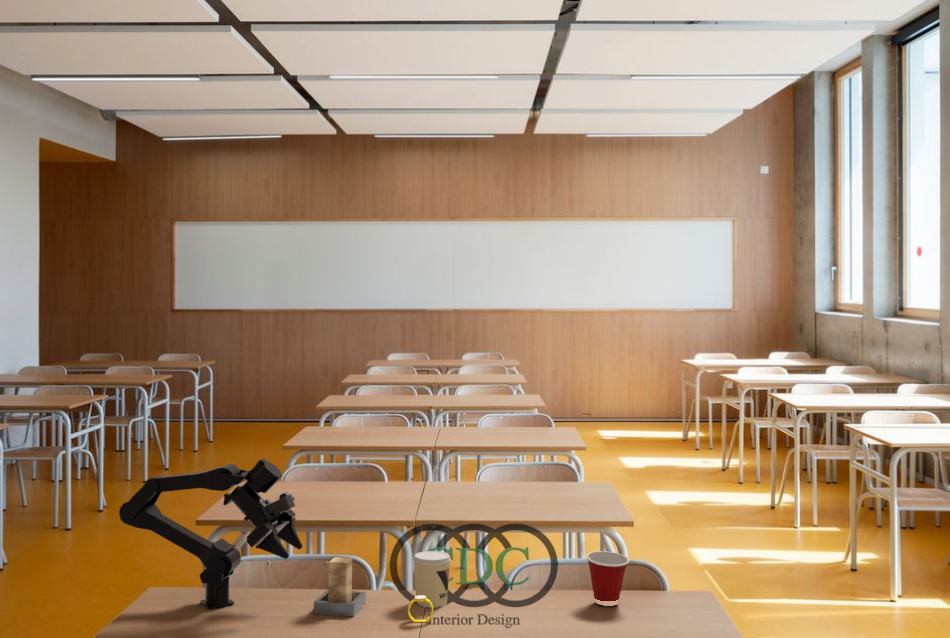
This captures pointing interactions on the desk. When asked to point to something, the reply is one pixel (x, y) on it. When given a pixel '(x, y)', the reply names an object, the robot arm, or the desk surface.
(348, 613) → the grey square tray
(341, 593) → the rectangular block
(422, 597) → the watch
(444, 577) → the coffee cup
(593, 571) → the plastic cup
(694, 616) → the desk surface
